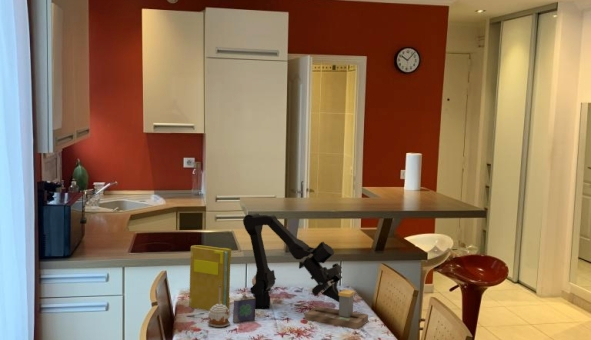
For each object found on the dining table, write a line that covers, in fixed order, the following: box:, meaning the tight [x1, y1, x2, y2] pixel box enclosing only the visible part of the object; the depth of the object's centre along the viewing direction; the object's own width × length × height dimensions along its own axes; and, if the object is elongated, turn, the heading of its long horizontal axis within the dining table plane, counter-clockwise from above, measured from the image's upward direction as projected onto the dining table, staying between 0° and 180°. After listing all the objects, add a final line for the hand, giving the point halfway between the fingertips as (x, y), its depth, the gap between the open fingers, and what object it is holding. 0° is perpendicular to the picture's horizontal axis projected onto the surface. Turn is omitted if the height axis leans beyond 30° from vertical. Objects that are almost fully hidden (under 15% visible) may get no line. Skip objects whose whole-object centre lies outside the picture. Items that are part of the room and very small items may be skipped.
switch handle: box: [338, 289, 356, 317], centre depth 227 cm, size 5×6×11 cm
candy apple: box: [207, 286, 231, 328], centre depth 218 cm, size 8×8×15 cm
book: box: [188, 244, 232, 312], centre depth 238 cm, size 17×7×25 cm, turn 65°
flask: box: [232, 293, 256, 324], centre depth 223 cm, size 9×3×11 cm, turn 121°
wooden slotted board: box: [304, 305, 369, 330], centre depth 229 cm, size 22×12×3 cm, turn 64°
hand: (340, 301), depth 228 cm, fingers closed, pressing on switch handle
